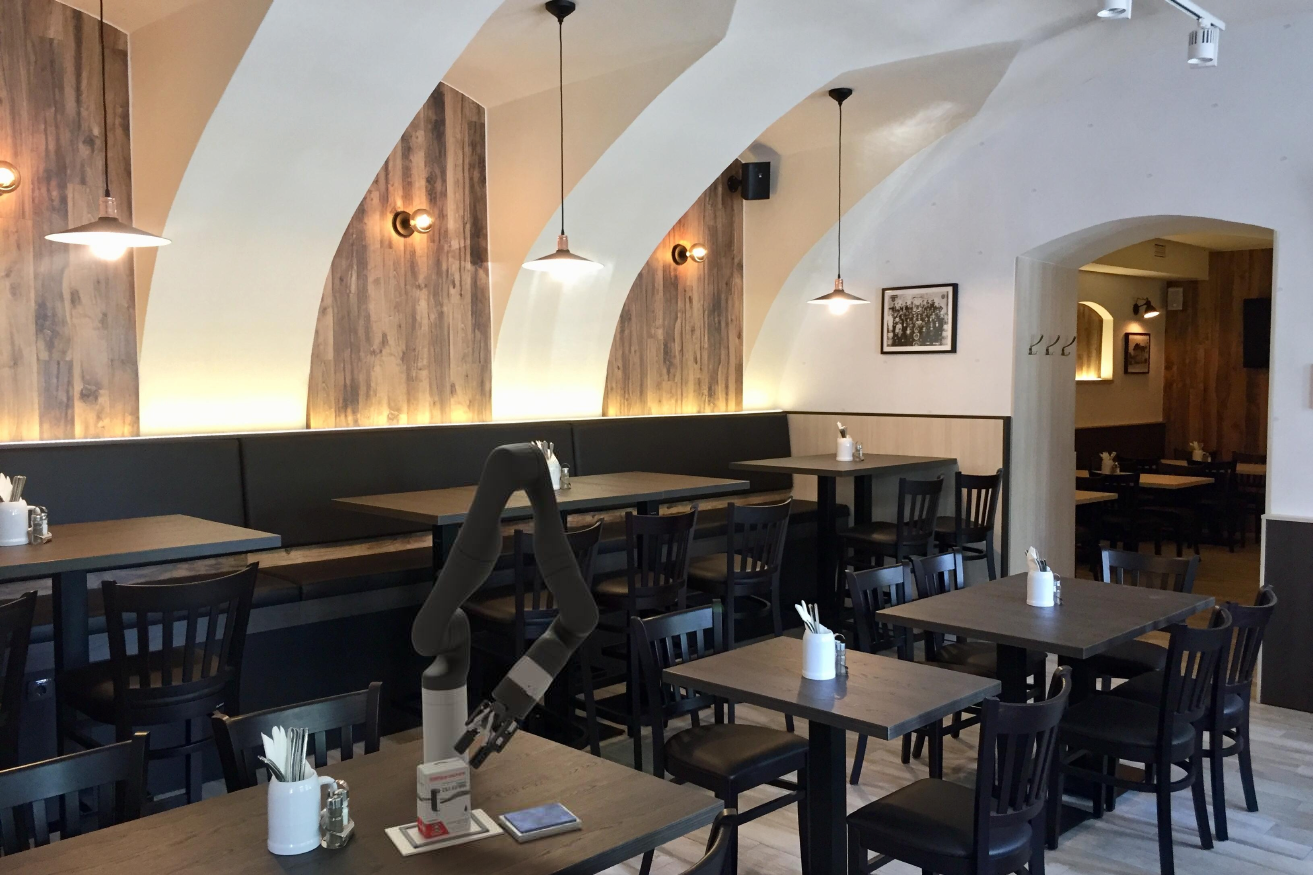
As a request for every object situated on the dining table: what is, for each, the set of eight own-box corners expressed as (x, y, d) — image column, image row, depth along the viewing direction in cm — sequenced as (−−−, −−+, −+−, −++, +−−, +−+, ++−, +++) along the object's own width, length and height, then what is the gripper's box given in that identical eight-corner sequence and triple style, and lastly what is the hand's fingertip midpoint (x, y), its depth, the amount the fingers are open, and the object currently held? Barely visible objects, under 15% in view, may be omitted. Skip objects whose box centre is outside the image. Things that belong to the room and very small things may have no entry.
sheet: (385, 831, 191) (385, 827, 191) (480, 810, 200) (480, 807, 200) (403, 856, 181) (403, 852, 181) (503, 833, 189) (503, 829, 189)
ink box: (426, 840, 186) (424, 773, 186) (417, 830, 191) (415, 765, 190) (472, 829, 191) (470, 763, 190) (462, 819, 195) (460, 756, 194)
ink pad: (498, 822, 194) (498, 814, 194) (559, 809, 200) (559, 800, 200) (519, 842, 186) (519, 833, 186) (581, 827, 191) (581, 819, 191)
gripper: (495, 666, 202) (437, 735, 197) (523, 684, 189) (462, 759, 184) (522, 689, 204) (466, 759, 200) (551, 709, 192) (492, 783, 187)
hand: (464, 759), depth 192 cm, fingers open, 8 cm apart
